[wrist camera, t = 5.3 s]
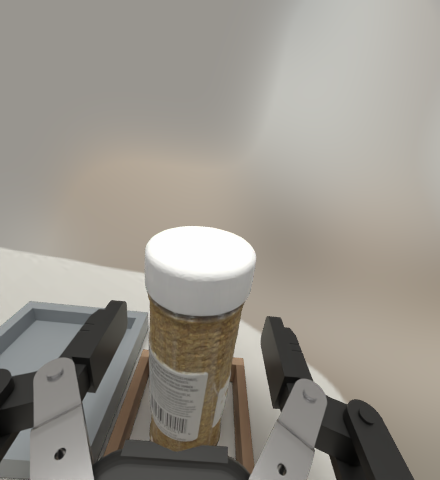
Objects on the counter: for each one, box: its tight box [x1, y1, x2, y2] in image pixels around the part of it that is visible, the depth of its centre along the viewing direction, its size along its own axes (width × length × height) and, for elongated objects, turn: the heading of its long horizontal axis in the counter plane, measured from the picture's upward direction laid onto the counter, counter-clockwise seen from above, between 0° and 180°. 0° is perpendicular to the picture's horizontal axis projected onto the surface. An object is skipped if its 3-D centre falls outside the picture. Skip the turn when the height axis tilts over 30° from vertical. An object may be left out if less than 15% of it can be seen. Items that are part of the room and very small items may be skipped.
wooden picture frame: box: [103, 349, 254, 474], centre depth 14 cm, size 8×8×2 cm
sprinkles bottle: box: [145, 226, 256, 452], centre depth 12 cm, size 5×5×13 cm
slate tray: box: [0, 301, 148, 479], centre depth 16 cm, size 11×11×2 cm
